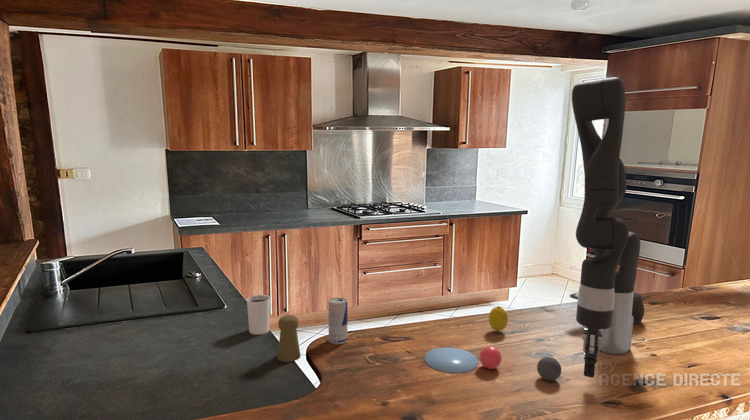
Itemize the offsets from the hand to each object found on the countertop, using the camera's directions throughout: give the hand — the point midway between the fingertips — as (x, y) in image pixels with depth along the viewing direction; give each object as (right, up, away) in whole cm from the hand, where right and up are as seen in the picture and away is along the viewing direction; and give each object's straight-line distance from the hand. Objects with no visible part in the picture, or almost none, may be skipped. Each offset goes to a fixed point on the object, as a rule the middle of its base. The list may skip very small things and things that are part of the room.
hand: (588, 375), depth 111 cm
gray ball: (-8, 0, +4) cm, 9 cm away
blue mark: (-30, -1, +14) cm, 33 cm away
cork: (-73, 0, +15) cm, 74 cm away
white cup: (-84, +2, +31) cm, 90 cm away
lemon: (-13, +2, +32) cm, 35 cm away
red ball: (-21, +1, +9) cm, 23 cm away
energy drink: (-60, +1, +25) cm, 65 cm away
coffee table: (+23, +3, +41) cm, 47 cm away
